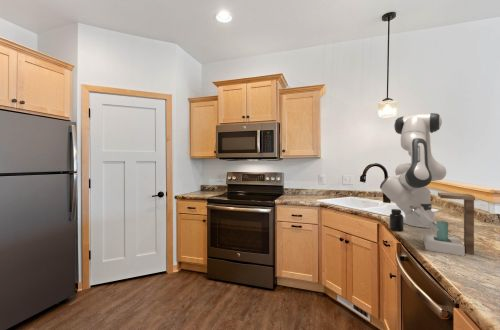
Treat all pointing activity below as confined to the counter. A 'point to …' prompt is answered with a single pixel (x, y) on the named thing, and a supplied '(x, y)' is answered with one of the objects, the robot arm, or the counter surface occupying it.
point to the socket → (444, 245)
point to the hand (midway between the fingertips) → (436, 228)
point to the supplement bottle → (396, 220)
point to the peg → (442, 231)
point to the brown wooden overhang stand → (465, 218)
